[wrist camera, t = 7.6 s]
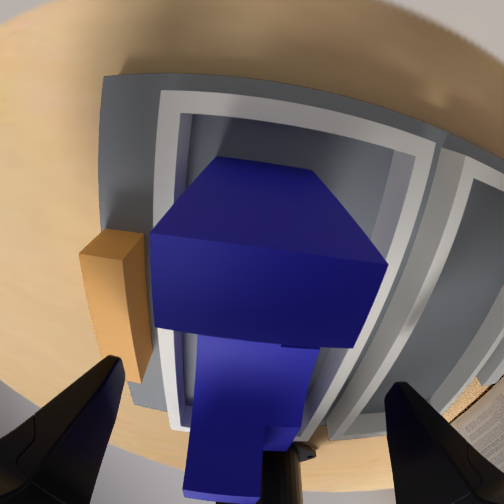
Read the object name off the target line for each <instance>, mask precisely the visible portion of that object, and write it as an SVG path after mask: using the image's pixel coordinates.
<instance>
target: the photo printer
mask: <svg viewBox="0 0 504 504" xmlns="http://www.w3.org/2000/svg"><path fill="white" fill-rule="evenodd" d="M451 425H452V426H453V427H454V428H455V429H456V430H457V431H458V432H459V433H460V434H461V435H462V436H463V437H464V438H465V439H466V440H467V442H469V443H470V444H471V445H472V446H473V447H474V448H475V449H476V450H477V451H478V452H479V453H480V454H481V455H482V456H484V457H485V458H486V459H487V460H488V461H490V462H491V463H492V464H493V465H495V466H496V467H497V468H498V469H499V470H501V471H502V472H503V473H504V376H503V377H502V378H501V379H500V380H499V381H498V382H497V383H496V384H495V385H494V386H493V387H492V388H491V389H490V390H489V391H488V392H487V393H486V394H485V395H484V396H483V397H482V398H480V399H479V400H478V401H477V402H476V403H475V404H474V405H473V406H471V407H470V408H469V409H468V410H467V411H466V412H464V413H463V414H462V415H460V416H459V417H458V418H457V419H456V420H454V421H453V422H452V423H451Z"/></svg>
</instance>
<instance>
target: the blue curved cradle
mask: <svg viewBox="0 0 504 504" xmlns="http://www.w3.org/2000/svg"><path fill="white" fill-rule="evenodd" d="M150 265H151V286H152V302H153V315H154V327H156V328H162V329H167V330H173V331H179V332H185V333H192V334H197V356H196V372H195V385H194V396H193V407H192V417H191V427H190V436H189V444H188V452H187V460H186V468H185V475H184V482H183V489H182V490H183V493H184V497H187V498H193V499H200V500H207V501H215V502H225V503H238V504H256V502H257V501H258V500H259V499H260V496H261V469H262V454H263V451H287V450H288V448H289V447H290V445H291V443H292V442H293V440H294V438H295V437H296V435H297V433H298V432H299V430H300V428H301V424H302V417H303V411H304V405H305V400H306V395H307V391H308V387H309V383H310V379H311V375H312V372H313V368H314V365H315V362H316V359H317V357H318V354H319V351H320V347H325V348H348V349H353V347H354V345H355V343H356V341H357V339H358V337H359V335H360V333H361V330H362V328H363V326H364V324H365V322H366V319H367V317H368V315H369V313H370V310H371V308H372V306H373V303H374V301H375V298H376V296H377V294H378V291H379V289H380V286H381V284H382V281H383V279H384V276H385V273H386V271H387V268H388V265H389V264H388V263H387V262H386V260H385V259H384V258H383V256H382V255H381V254H380V252H379V251H378V250H377V248H376V247H375V246H374V244H373V243H372V242H371V240H370V239H369V238H368V236H367V235H366V234H365V233H364V231H363V230H362V229H361V228H360V226H359V225H358V224H357V223H356V221H355V220H354V219H353V218H352V216H351V215H350V214H349V213H348V211H347V210H346V209H345V208H344V207H343V205H342V204H341V203H340V202H339V201H338V199H337V198H336V197H335V196H334V195H333V193H332V192H331V191H330V190H329V189H328V188H327V186H326V185H325V184H324V183H323V182H322V181H321V180H320V178H319V177H318V176H317V175H316V174H315V173H314V172H313V171H312V170H309V169H303V168H297V167H291V166H285V165H279V164H272V163H266V162H259V161H251V160H244V159H236V158H228V157H219V156H216V157H215V158H214V159H213V160H212V161H211V162H210V163H209V165H208V166H207V167H206V168H205V169H204V170H203V171H202V172H201V173H200V174H199V176H198V177H197V178H196V179H195V180H194V181H193V182H192V183H191V184H190V186H189V187H188V188H187V189H186V190H185V191H184V192H183V194H182V195H181V196H180V197H179V198H178V199H177V201H176V202H175V203H174V204H173V205H172V206H171V208H170V209H169V210H168V211H167V212H166V214H165V215H164V216H163V217H162V218H161V220H160V221H159V222H158V223H157V224H156V226H155V227H154V228H153V229H152V231H151V232H150Z"/></svg>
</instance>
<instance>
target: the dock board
mask: <svg viewBox="0 0 504 504" xmlns="http://www.w3.org/2000/svg"><path fill="white" fill-rule="evenodd" d="M216 156H219V157H228V158H236V159H244V160H251V161H259V162H266V163H272V164H279V165H285V166H291V167H297V168H303V169H309V170H312V171H313V172H314V173H315V174H316V175H317V176H318V177H319V178H320V180H321V181H322V182H323V183H324V184H325V185H326V186H327V188H328V189H329V190H330V191H331V192H332V193H333V195H334V196H335V197H336V198H337V199H338V201H339V202H340V203H341V204H342V205H343V207H344V208H345V209H346V210H347V211H348V213H349V214H350V215H351V216H352V218H353V219H354V220H355V221H356V223H357V224H358V225H359V226H360V228H361V229H362V230H363V231H364V233H365V234H366V235H367V236H368V238H369V239H370V240H371V242H372V243H373V244H374V246H375V247H376V248H377V250H378V251H379V252H380V254H381V255H382V256H383V258H384V259H385V260H386V262H387V263H388V264H389V265H388V268H387V271H386V273H385V276H384V279H383V281H382V284H381V286H380V289H379V291H378V294H377V296H376V298H375V301H374V303H373V306H372V308H371V310H370V313H369V315H368V317H367V319H366V322H365V324H364V326H363V328H362V330H361V333H360V335H359V337H358V339H357V341H356V343H355V345H354V347H353V349H348V348H325V347H320V351H319V354H318V357H317V359H316V362H315V365H314V368H313V372H312V375H311V379H310V383H309V387H308V391H307V395H306V400H305V405H304V411H303V417H302V424H301V428H300V430H299V432H298V433H297V435H296V437H295V438H294V440H293V441H308V440H309V439H310V437H311V436H312V435H313V433H314V432H315V430H316V429H317V427H318V425H327V430H328V436H329V441H330V440H346V439H358V438H368V437H377V436H384V435H387V432H386V418H385V406H384V398H385V395H386V394H387V392H388V391H389V390H390V388H391V387H392V385H393V384H394V383H395V382H398V381H406V382H407V383H409V384H410V385H411V386H412V387H413V388H414V389H415V390H416V391H417V392H418V393H419V394H420V395H421V396H422V397H423V398H424V399H425V400H426V401H427V402H428V403H429V404H430V405H431V406H432V407H433V408H434V409H435V410H436V411H437V412H438V413H439V414H440V415H441V416H442V415H443V414H444V413H445V412H446V411H447V410H448V409H449V407H450V406H451V405H452V404H453V403H454V402H455V401H456V400H457V398H458V397H459V396H460V395H461V394H462V392H463V391H464V390H465V389H466V388H467V386H468V385H469V384H470V383H471V381H472V380H473V379H474V378H475V376H477V378H478V380H479V382H480V383H481V385H482V386H486V385H490V384H494V383H497V381H498V380H499V379H500V378H501V376H502V375H503V374H504V160H503V159H501V158H499V157H498V156H496V155H494V154H492V153H490V152H488V151H487V150H485V149H483V148H481V147H479V146H477V145H475V144H473V143H471V142H469V141H467V140H465V139H463V138H460V137H458V136H456V135H454V134H452V133H449V132H447V131H445V130H443V129H440V128H438V127H435V126H433V125H431V124H428V123H426V122H423V121H420V120H418V119H415V118H413V117H410V116H407V115H404V114H402V113H399V112H396V111H393V110H390V109H387V108H384V107H381V106H377V105H374V104H371V103H367V102H364V101H361V100H357V99H353V98H350V97H346V96H342V95H338V94H334V93H330V92H325V91H321V90H316V89H312V88H307V87H302V86H296V85H291V84H285V83H279V82H273V81H266V80H259V79H251V78H242V77H232V76H221V75H206V74H180V73H152V74H127V75H113V76H104V79H103V88H102V98H101V110H100V125H99V154H98V178H99V208H100V224H101V233H100V234H99V235H98V236H97V237H96V238H95V239H93V240H92V241H91V242H90V243H89V244H88V245H87V246H86V247H85V248H84V249H83V250H82V251H81V252H80V253H79V258H80V264H81V270H82V276H83V281H84V287H85V292H86V297H87V301H88V306H89V310H90V315H91V319H92V323H93V327H94V331H95V335H96V338H97V342H98V345H99V349H100V352H101V356H102V359H104V358H105V357H106V356H108V355H114V356H118V357H120V358H121V359H122V362H123V366H124V370H125V380H127V382H128V385H129V389H130V392H131V396H132V399H133V402H134V405H138V406H142V407H147V408H151V409H156V410H160V411H165V412H168V417H169V423H170V428H171V429H173V430H178V431H184V432H190V427H191V417H192V407H193V396H194V385H195V372H196V356H197V334H192V333H185V332H179V331H173V330H167V329H162V328H156V327H154V315H153V302H152V286H151V265H150V232H151V231H152V229H153V228H154V227H155V226H156V224H157V223H158V222H159V221H160V220H161V218H162V217H163V216H164V215H165V214H166V212H167V211H168V210H169V209H170V208H171V206H172V205H173V204H174V203H175V202H176V201H177V199H178V198H179V197H180V196H181V195H182V194H183V192H184V191H185V190H186V189H187V188H188V187H189V186H190V184H191V183H192V182H193V181H194V180H195V179H196V178H197V177H198V176H199V174H200V173H201V172H202V171H203V170H204V169H205V168H206V167H207V166H208V165H209V163H210V162H211V161H212V160H213V159H214V158H215V157H216Z"/></svg>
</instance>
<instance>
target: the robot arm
mask: <svg viewBox="0 0 504 504" xmlns="http://www.w3.org/2000/svg"><path fill="white" fill-rule="evenodd" d="M124 382H125V370H124V366H123V362H122V359H121V358H120V357H118V356H114V355H108V356H106V357H105V358H104V359H102V360H101V361H100V362H99V363H97V364H96V365H95V366H94V367H92V368H91V369H90V370H89V371H87V372H86V373H85V374H84V375H82V376H81V377H80V378H79V379H77V380H76V381H75V382H74V383H72V384H71V385H70V386H69V387H67V388H66V389H65V390H63V391H62V392H61V393H60V394H58V395H57V396H56V397H55V398H53V399H52V400H51V401H50V402H49V403H47V404H46V405H45V406H44V407H42V408H41V409H40V410H39V411H37V412H36V413H35V414H34V415H32V416H31V417H30V418H28V419H27V420H26V421H25V422H23V423H22V424H21V425H20V426H18V427H17V428H15V429H14V430H13V431H11V432H9V433H8V434H6V435H5V436H3V437H2V438H0V504H90V500H91V497H92V493H93V490H94V486H95V483H96V479H97V476H98V473H99V469H100V466H101V463H102V459H103V457H104V453H105V450H106V447H107V444H108V441H109V438H110V435H111V432H112V429H113V427H114V424H115V420H116V417H117V413H118V408H119V404H120V399H121V395H122V390H123V386H124ZM384 406H385V418H386V432H387V441H388V447H389V453H390V460H391V466H392V473H393V481H394V489H395V497H396V504H504V473H503V472H502V471H501V470H499V469H498V468H497V467H496V466H495V465H493V464H492V463H491V462H490V461H488V460H487V459H486V458H485V457H484V456H482V455H481V454H480V453H479V452H478V451H477V450H476V449H475V448H474V447H473V446H472V445H471V444H470V443H469V442H467V440H466V439H465V438H464V437H463V436H462V435H461V434H460V433H459V432H458V431H457V430H456V429H455V428H454V427H453V426H452V425H451V424H450V423H449V422H447V421H446V420H445V419H444V418H443V417H442V416H441V415H440V414H439V413H438V412H437V411H436V410H435V409H434V408H433V407H432V406H431V405H430V404H429V403H428V402H427V401H426V400H425V399H424V398H423V397H422V396H421V395H420V394H419V393H418V392H417V391H416V390H415V389H414V388H413V387H412V386H411V385H410V384H409V383H407V382H406V381H398V382H395V383H394V384H393V385H392V387H391V388H390V390H389V391H388V392H387V394H386V395H385V398H384ZM315 457H316V451H314V450H312V449H311V448H309V447H307V446H305V445H303V444H301V443H300V442H298V441H293V442H292V443H291V445H290V447H289V448H288V450H287V451H263V454H262V469H261V496H260V499H259V500H258V501H257V502H256V504H303V497H302V483H301V469H300V462H302V461H306V460H309V459H312V458H315ZM216 504H238V503H225V502H216Z"/></svg>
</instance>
